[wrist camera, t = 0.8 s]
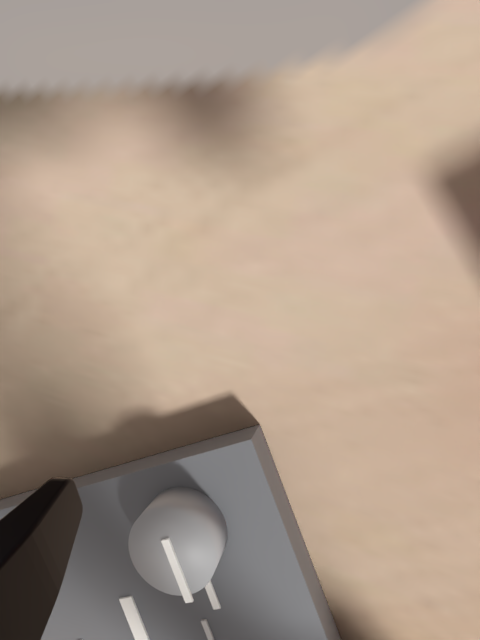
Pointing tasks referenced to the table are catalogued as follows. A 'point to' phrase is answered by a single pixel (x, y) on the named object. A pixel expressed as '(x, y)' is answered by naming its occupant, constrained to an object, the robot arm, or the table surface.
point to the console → (189, 551)
